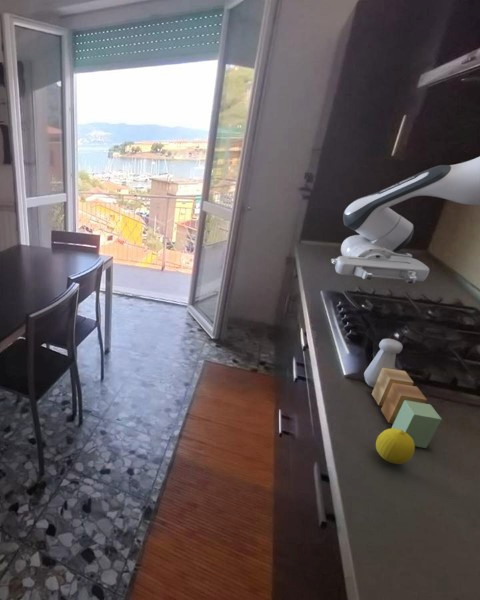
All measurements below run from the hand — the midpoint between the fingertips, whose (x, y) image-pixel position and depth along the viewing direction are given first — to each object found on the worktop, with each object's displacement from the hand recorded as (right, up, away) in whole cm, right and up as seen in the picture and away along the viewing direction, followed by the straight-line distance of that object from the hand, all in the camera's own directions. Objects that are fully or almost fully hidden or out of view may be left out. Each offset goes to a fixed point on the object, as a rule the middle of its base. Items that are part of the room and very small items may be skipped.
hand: (390, 278), depth 92 cm
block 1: (-6, -30, -5) cm, 31 cm away
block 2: (-8, -33, -10) cm, 35 cm away
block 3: (-10, -35, -15) cm, 40 cm away
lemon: (-18, -38, -20) cm, 47 cm away
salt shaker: (-3, -28, +1) cm, 28 cm away
